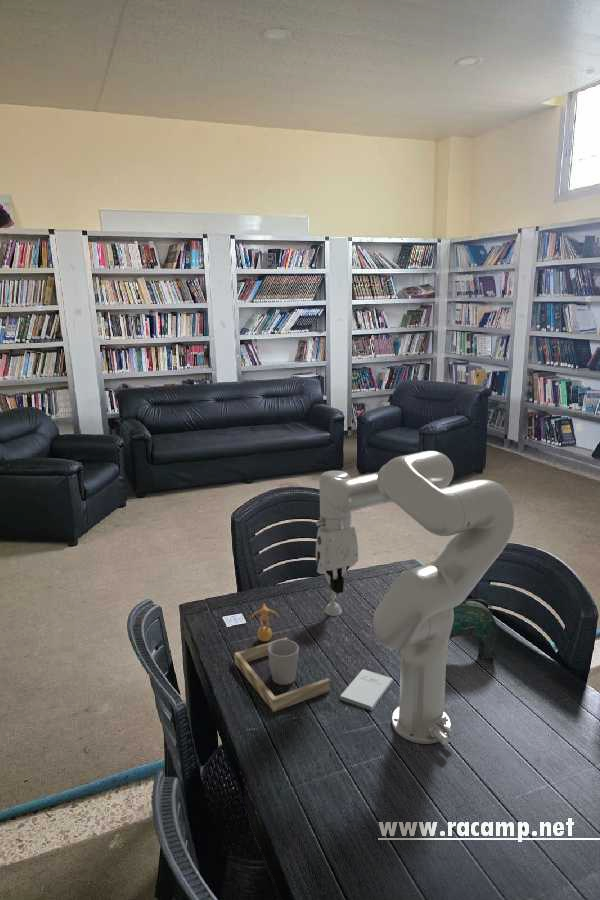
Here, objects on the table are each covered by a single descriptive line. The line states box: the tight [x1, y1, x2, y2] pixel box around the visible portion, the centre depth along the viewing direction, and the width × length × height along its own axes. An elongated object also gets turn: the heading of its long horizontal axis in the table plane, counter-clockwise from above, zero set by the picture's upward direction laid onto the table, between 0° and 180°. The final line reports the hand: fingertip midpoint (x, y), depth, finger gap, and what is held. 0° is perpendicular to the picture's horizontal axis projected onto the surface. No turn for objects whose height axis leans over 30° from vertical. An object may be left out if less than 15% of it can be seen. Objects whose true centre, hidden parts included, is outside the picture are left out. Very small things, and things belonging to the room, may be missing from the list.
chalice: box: [324, 574, 343, 617], centre depth 182 cm, size 7×7×18 cm
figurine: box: [248, 603, 281, 643], centre depth 167 cm, size 8×6×12 cm
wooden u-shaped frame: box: [234, 636, 331, 713], centre depth 153 cm, size 22×15×3 cm
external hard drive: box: [339, 669, 394, 712], centre depth 148 cm, size 2×8×12 cm
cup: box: [268, 639, 300, 686], centre depth 153 cm, size 8×10×8 cm
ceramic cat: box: [449, 598, 499, 659], centre depth 158 cm, size 20×6×20 cm, turn 92°
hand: (337, 590), depth 156 cm, fingers closed
